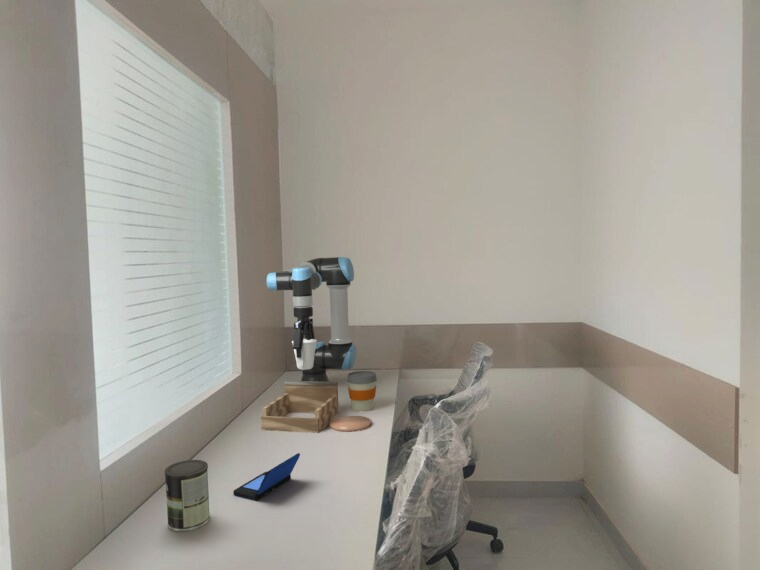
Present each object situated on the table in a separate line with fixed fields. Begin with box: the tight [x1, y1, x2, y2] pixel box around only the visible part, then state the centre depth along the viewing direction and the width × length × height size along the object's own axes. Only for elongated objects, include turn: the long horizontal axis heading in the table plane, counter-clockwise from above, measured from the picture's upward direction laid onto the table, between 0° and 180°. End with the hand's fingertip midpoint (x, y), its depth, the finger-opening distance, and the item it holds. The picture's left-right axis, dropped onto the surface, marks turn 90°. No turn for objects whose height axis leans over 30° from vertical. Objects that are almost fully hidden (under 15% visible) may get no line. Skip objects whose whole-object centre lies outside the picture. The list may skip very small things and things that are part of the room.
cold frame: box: [260, 380, 339, 434], centre depth 218 cm, size 25×23×13 cm
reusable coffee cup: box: [346, 370, 377, 412], centre depth 232 cm, size 13×13×15 cm
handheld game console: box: [232, 452, 301, 502], centre depth 156 cm, size 16×13×9 cm
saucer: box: [329, 415, 372, 433], centre depth 211 cm, size 16×16×1 cm
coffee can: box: [164, 459, 211, 533], centre depth 137 cm, size 10×10×14 cm
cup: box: [291, 338, 318, 371], centre depth 215 cm, size 10×10×11 cm
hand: (305, 363), depth 215 cm, fingers closed on cup, 9 cm apart
